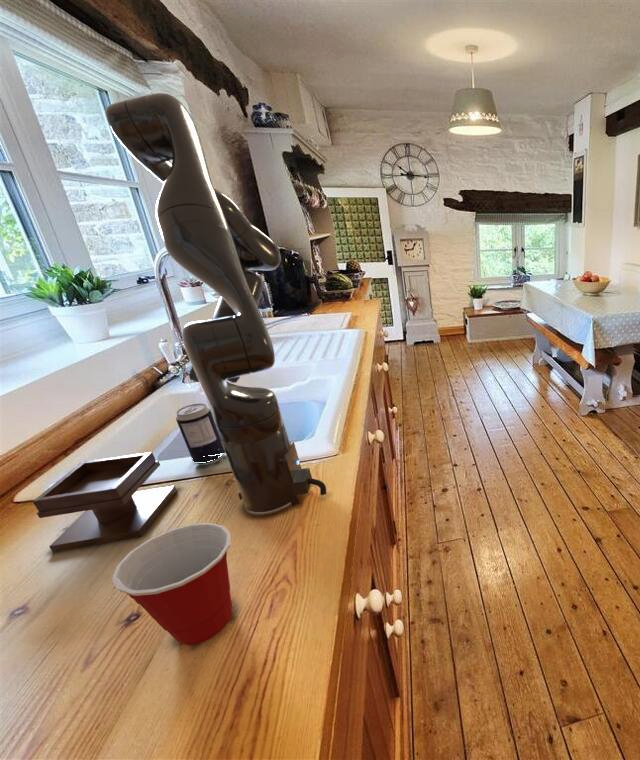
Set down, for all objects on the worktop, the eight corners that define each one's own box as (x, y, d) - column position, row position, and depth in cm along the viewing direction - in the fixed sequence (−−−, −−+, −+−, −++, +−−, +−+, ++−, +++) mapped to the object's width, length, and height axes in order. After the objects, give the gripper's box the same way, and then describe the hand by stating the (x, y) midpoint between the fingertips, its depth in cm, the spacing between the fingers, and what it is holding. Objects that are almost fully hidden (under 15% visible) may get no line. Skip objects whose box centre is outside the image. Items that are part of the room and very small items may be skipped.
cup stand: (177, 490, 77) (158, 448, 73) (141, 536, 66) (117, 490, 62) (102, 502, 74) (79, 460, 71) (52, 552, 64) (22, 505, 60)
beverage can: (232, 452, 88) (215, 402, 84) (212, 467, 83) (192, 415, 79) (208, 451, 89) (189, 402, 84) (187, 466, 84) (166, 415, 79)
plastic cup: (265, 624, 51) (237, 553, 46) (157, 688, 45) (111, 612, 40) (246, 572, 59) (220, 506, 54) (151, 620, 52) (112, 550, 48)
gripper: (193, 305, 90) (167, 374, 84) (253, 305, 88) (230, 374, 82) (219, 322, 97) (196, 387, 91) (275, 322, 95) (255, 387, 89)
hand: (212, 381), depth 87 cm, fingers open, 8 cm apart
